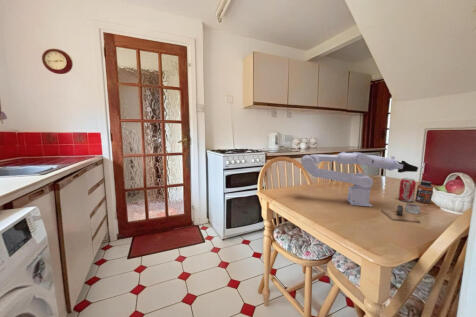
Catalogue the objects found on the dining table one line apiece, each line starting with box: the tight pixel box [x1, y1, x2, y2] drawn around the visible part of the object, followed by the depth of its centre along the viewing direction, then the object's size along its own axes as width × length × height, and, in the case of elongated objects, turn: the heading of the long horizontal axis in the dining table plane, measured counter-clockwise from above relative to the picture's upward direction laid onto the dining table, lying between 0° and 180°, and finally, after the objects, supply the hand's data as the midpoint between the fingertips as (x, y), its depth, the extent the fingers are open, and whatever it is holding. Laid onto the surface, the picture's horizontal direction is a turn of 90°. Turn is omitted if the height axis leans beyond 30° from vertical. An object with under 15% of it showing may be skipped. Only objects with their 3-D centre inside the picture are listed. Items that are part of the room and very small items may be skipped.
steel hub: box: [404, 202, 421, 215], centre depth 90 cm, size 5×5×3 cm
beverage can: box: [397, 177, 416, 203], centre depth 104 cm, size 6×6×12 cm
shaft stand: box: [380, 204, 421, 224], centre depth 84 cm, size 10×10×5 cm
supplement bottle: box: [415, 180, 434, 205], centre depth 103 cm, size 6×6×11 cm
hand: (412, 168), depth 92 cm, fingers open, 7 cm apart
